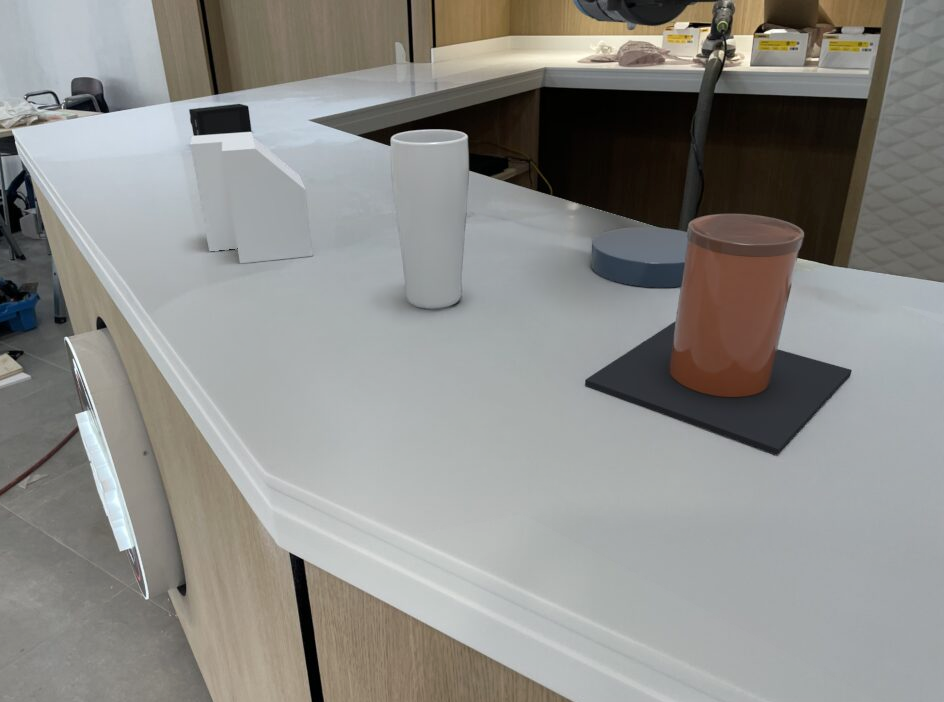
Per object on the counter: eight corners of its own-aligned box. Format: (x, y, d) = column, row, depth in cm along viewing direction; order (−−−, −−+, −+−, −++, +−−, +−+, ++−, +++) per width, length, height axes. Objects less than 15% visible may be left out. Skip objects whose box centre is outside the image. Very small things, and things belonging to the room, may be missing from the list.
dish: (730, 264, 76) (734, 241, 75) (675, 297, 68) (679, 272, 67) (627, 242, 83) (630, 220, 82) (567, 269, 76) (569, 246, 74)
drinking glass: (389, 311, 67) (379, 142, 60) (408, 285, 73) (401, 128, 66) (461, 316, 66) (459, 144, 59) (475, 289, 71) (475, 129, 64)
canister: (786, 371, 54) (820, 225, 49) (746, 409, 49) (779, 252, 44) (694, 344, 58) (716, 207, 53) (649, 376, 54) (668, 230, 48)
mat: (850, 375, 54) (852, 369, 54) (777, 455, 45) (778, 449, 45) (674, 326, 63) (675, 320, 62) (584, 385, 54) (585, 379, 54)
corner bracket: (210, 238, 89) (191, 135, 83) (303, 229, 91) (292, 128, 85) (208, 266, 79) (188, 153, 74) (312, 255, 82) (300, 145, 76)
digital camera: (242, 139, 149) (237, 102, 145) (253, 142, 145) (248, 105, 141) (193, 145, 143) (186, 108, 140) (203, 149, 139) (196, 111, 136)
